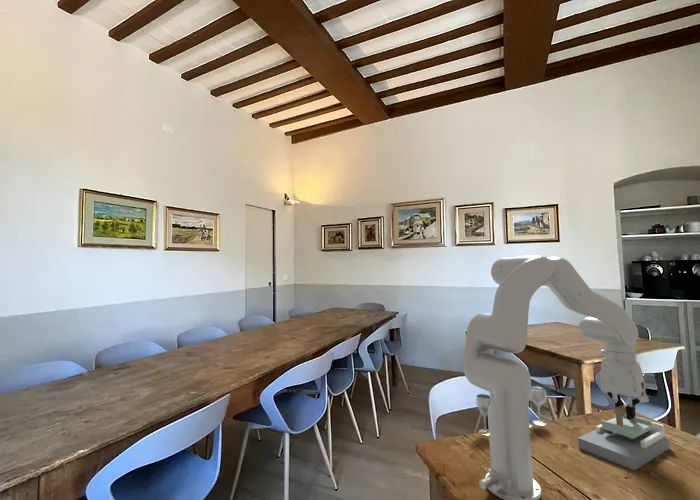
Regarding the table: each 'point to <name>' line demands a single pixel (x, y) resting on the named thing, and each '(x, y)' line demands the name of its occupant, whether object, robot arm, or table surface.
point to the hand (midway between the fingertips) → (625, 416)
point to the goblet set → (536, 396)
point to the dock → (626, 446)
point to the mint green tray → (626, 424)
